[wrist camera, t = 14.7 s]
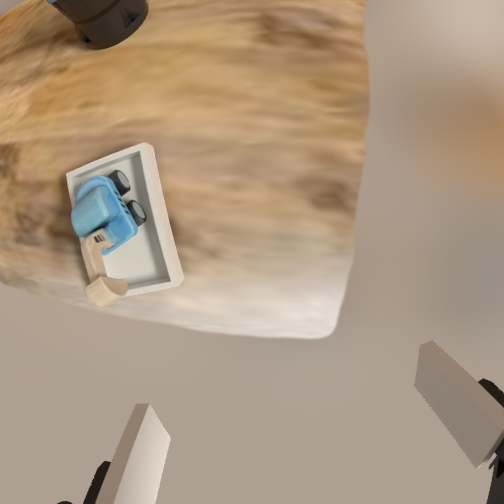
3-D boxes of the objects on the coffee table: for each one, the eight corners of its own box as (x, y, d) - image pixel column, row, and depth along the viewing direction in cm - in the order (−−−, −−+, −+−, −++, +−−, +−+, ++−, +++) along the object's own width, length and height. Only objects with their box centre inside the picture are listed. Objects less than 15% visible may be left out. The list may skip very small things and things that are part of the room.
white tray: (82, 174, 41) (66, 173, 35) (155, 147, 41) (144, 142, 35) (112, 290, 46) (99, 301, 40) (186, 275, 45) (178, 286, 40)
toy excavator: (132, 280, 43) (81, 325, 26) (85, 195, 39) (16, 203, 23) (172, 255, 42) (131, 294, 25) (121, 166, 39) (58, 157, 22)
